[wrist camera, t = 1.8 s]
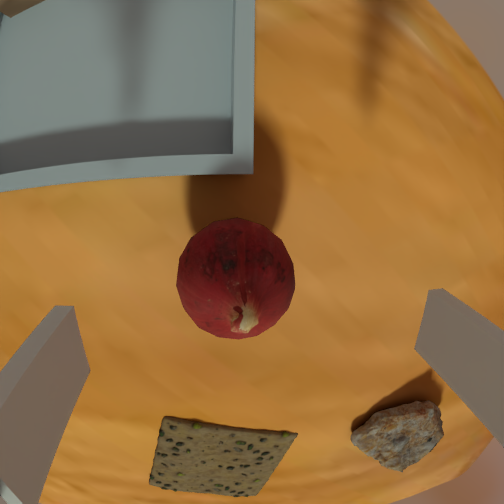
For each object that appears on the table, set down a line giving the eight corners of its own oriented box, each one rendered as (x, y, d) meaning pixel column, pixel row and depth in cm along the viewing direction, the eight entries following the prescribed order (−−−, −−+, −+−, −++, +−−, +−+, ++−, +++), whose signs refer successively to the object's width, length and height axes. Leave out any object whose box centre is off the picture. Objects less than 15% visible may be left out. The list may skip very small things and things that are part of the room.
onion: (172, 218, 18) (150, 262, 11) (269, 199, 19) (313, 230, 11) (193, 307, 20) (190, 391, 13) (282, 289, 21) (323, 362, 13)
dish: (-17, 192, 16) (-38, 198, 13) (12, -32, 10) (-2, -44, 8) (246, 171, 18) (253, 174, 16) (250, -71, 13) (255, -91, 11)
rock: (443, 400, 28) (412, 385, 23) (462, 442, 23) (437, 441, 19) (381, 437, 31) (335, 431, 27) (395, 478, 26) (350, 484, 22)
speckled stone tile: (257, 493, 28) (258, 499, 27) (147, 481, 26) (147, 488, 25) (299, 429, 25) (302, 436, 25) (162, 411, 23) (161, 419, 22)
